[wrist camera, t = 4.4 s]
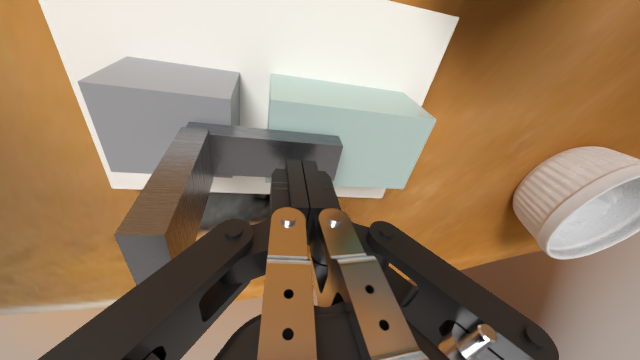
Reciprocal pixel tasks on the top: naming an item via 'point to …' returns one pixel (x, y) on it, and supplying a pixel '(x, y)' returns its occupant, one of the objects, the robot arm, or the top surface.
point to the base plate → (228, 66)
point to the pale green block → (354, 127)
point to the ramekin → (580, 201)
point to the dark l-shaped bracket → (206, 184)
